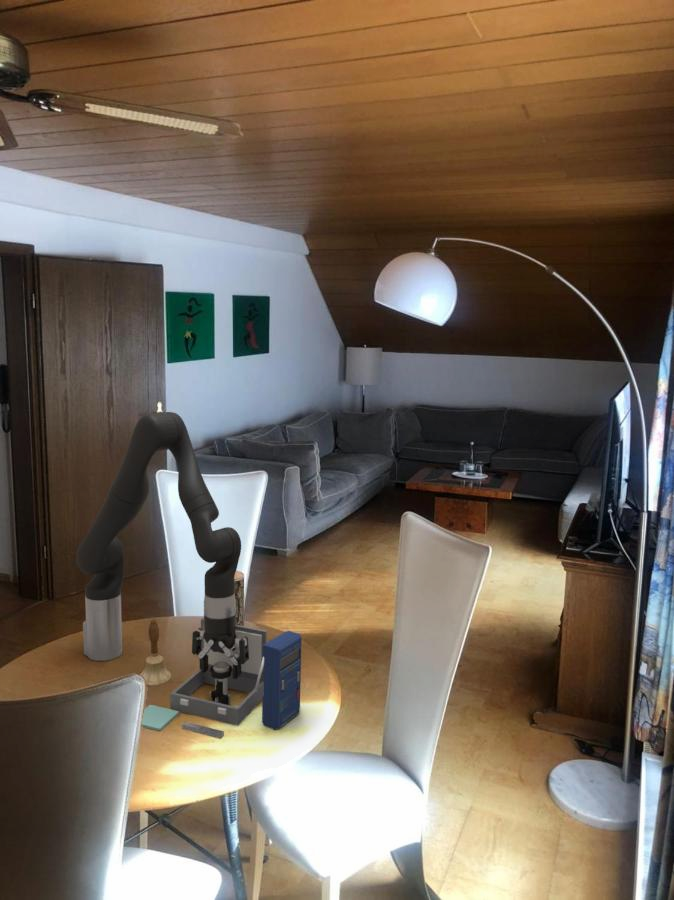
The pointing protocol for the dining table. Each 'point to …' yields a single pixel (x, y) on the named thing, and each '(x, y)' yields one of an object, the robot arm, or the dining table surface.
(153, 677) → the hand bell
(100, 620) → the robot arm
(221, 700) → the push button
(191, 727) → the rod
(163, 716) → the pad
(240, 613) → the brown bark-textured cylinder
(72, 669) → the dining table surface
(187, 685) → the case
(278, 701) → the electronic device
